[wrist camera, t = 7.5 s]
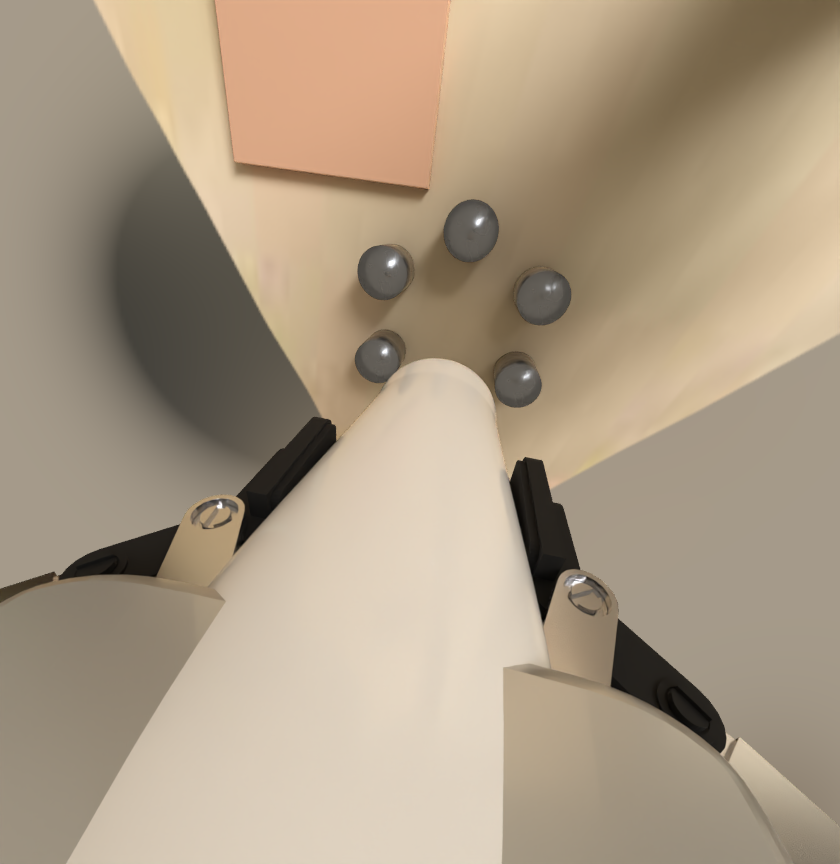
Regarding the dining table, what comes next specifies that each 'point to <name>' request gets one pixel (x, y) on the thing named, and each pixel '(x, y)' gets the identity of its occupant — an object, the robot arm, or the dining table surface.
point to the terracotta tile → (335, 85)
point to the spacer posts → (467, 241)
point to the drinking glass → (350, 660)
